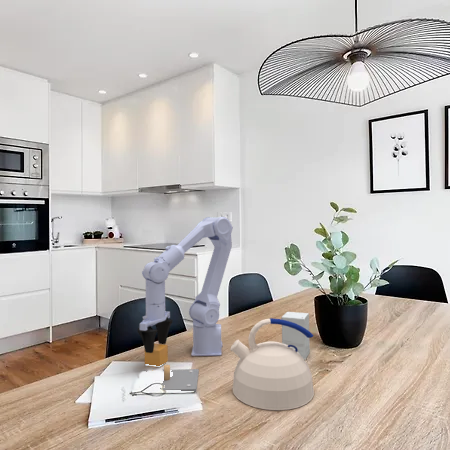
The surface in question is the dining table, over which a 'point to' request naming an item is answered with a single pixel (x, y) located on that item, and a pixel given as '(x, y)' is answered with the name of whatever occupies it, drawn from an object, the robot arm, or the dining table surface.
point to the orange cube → (157, 355)
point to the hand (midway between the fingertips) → (155, 347)
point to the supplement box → (296, 332)
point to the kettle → (272, 372)
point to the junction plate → (180, 379)
